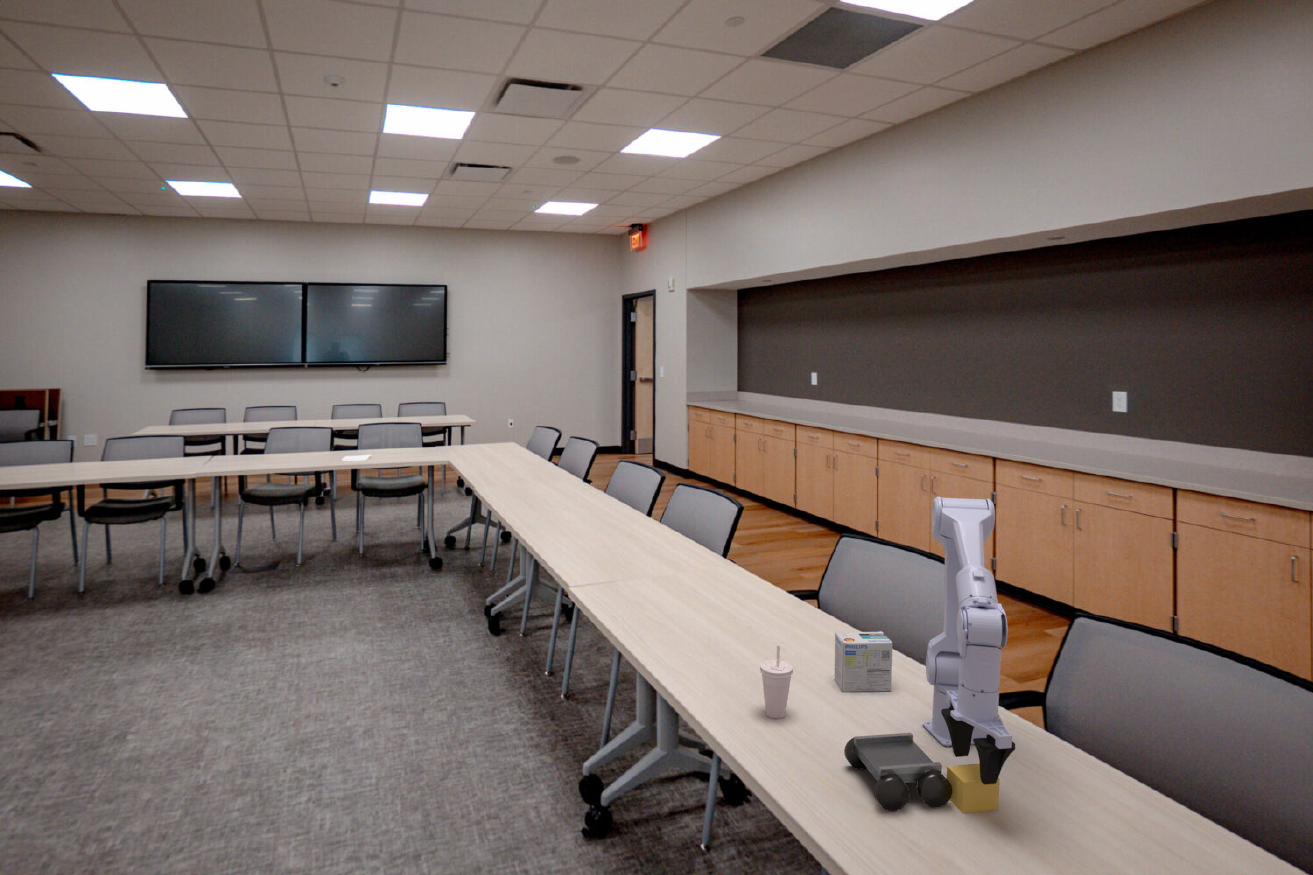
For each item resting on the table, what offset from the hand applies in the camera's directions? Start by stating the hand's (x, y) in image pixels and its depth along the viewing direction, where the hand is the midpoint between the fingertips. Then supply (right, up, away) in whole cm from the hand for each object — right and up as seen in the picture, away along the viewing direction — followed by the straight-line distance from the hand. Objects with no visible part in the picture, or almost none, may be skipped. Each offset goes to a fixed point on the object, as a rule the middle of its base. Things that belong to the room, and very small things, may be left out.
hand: (974, 768), depth 113 cm
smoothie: (-26, -3, +29) cm, 39 cm away
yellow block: (0, -6, 0) cm, 6 cm away
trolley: (-11, -5, +5) cm, 13 cm away
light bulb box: (-6, -2, +42) cm, 42 cm away
